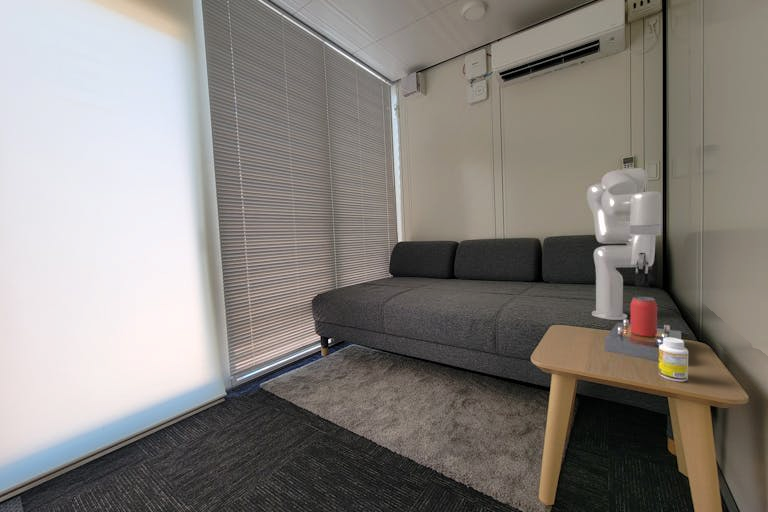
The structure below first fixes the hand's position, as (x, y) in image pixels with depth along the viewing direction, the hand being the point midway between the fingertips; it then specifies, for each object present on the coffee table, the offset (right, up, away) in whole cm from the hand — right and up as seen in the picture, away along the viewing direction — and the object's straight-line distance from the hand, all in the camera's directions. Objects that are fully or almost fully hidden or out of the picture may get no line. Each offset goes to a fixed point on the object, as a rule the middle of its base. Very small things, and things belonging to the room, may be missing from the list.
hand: (643, 283), depth 97 cm
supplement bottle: (-9, -23, -19) cm, 31 cm away
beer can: (+1, -17, +1) cm, 17 cm away
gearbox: (+2, -21, +2) cm, 21 cm away
